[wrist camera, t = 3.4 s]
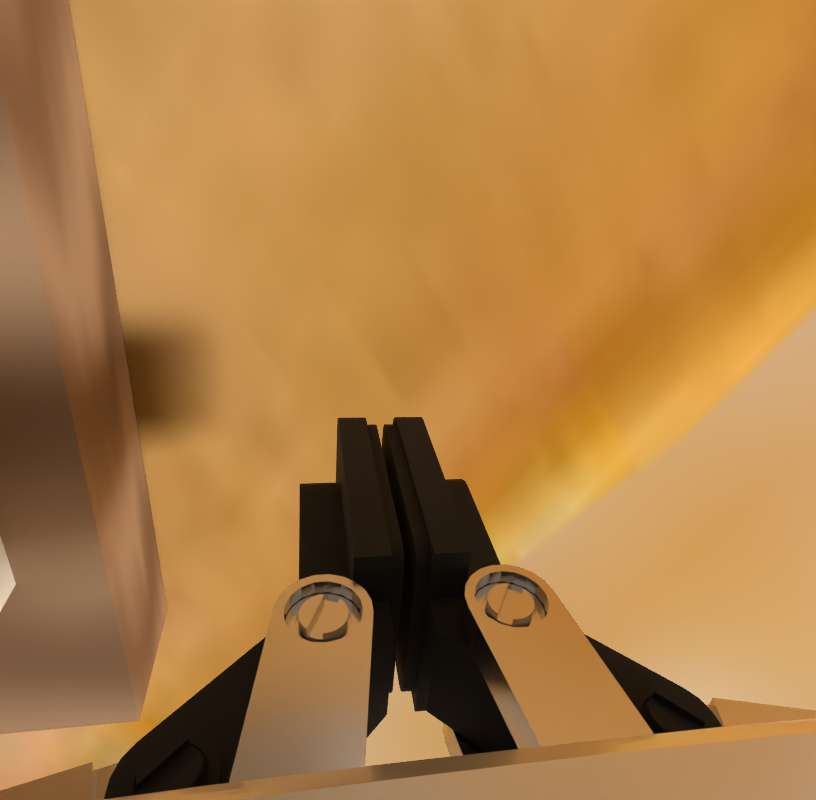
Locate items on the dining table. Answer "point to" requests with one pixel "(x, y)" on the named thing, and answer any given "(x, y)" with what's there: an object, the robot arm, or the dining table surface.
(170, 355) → the dining table surface
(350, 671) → the robot arm
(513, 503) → the dining table surface
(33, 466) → the brown wooden block
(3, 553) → the cream white panel
